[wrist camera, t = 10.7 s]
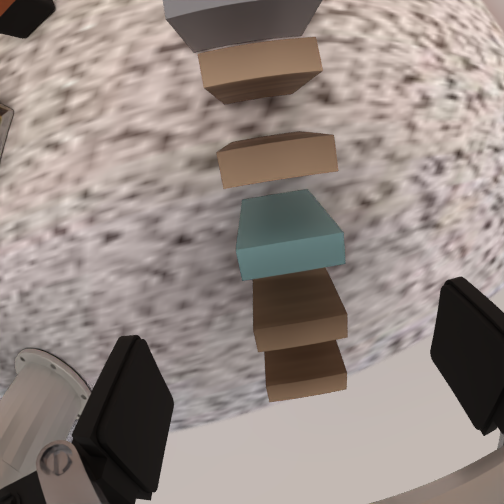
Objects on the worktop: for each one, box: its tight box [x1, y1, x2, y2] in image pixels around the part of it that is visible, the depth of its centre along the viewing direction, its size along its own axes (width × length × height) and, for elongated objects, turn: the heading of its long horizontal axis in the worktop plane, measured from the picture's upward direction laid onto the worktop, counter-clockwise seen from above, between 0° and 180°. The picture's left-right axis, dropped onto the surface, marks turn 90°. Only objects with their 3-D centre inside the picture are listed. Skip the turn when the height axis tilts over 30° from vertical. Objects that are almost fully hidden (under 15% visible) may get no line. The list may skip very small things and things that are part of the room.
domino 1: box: [198, 37, 323, 104], centre depth 16 cm, size 2×5×10 cm, turn 100°
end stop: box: [163, 0, 322, 52], centre depth 14 cm, size 3×8×8 cm, turn 100°
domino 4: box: [253, 267, 347, 352], centre depth 21 cm, size 2×5×10 cm, turn 100°
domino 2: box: [217, 131, 338, 189], centre depth 17 cm, size 2×5×10 cm, turn 100°
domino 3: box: [236, 189, 346, 281], centre depth 19 cm, size 2×5×10 cm, turn 100°
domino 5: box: [264, 340, 347, 402], centre depth 22 cm, size 2×5×10 cm, turn 100°
